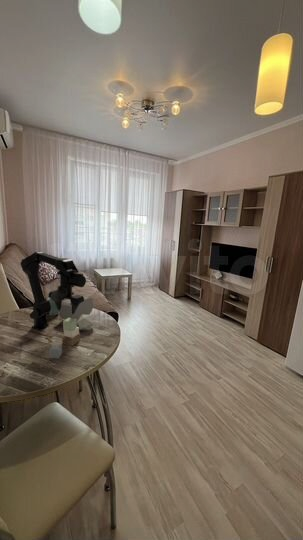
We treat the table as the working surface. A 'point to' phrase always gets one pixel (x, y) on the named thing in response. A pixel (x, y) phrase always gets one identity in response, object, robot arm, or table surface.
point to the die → (85, 322)
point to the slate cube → (55, 351)
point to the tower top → (71, 332)
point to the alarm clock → (82, 309)
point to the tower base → (70, 340)
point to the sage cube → (69, 324)
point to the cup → (53, 308)
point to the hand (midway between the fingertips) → (66, 312)
